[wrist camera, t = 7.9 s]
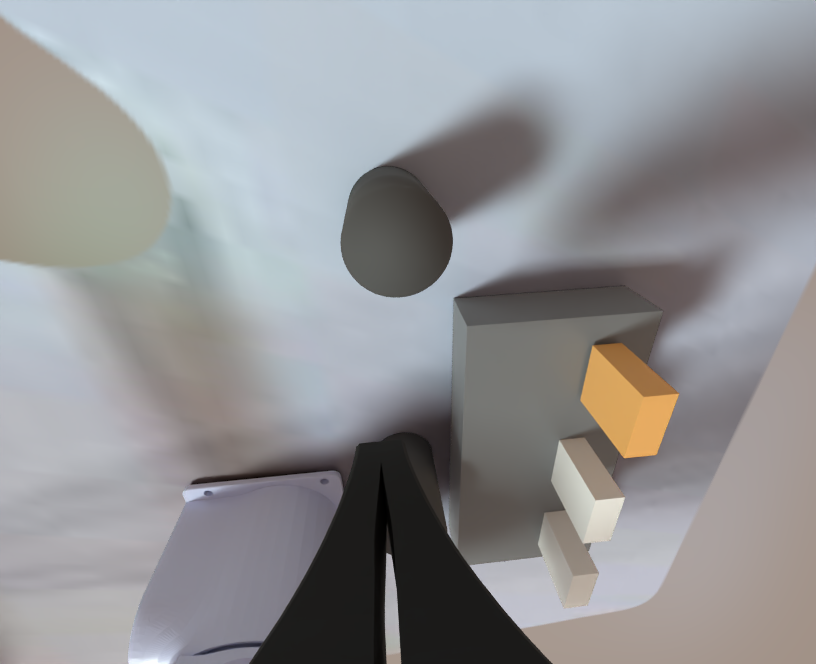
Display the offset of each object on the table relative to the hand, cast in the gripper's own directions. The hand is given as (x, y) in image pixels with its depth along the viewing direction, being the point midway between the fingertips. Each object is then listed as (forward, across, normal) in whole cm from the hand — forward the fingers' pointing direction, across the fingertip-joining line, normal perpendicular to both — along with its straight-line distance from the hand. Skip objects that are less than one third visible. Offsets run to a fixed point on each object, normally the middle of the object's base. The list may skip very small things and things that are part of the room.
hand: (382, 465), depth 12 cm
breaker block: (+9, -8, +8) cm, 15 cm away
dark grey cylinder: (+9, -1, -6) cm, 11 cm away
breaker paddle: (+6, -11, +2) cm, 12 cm away
